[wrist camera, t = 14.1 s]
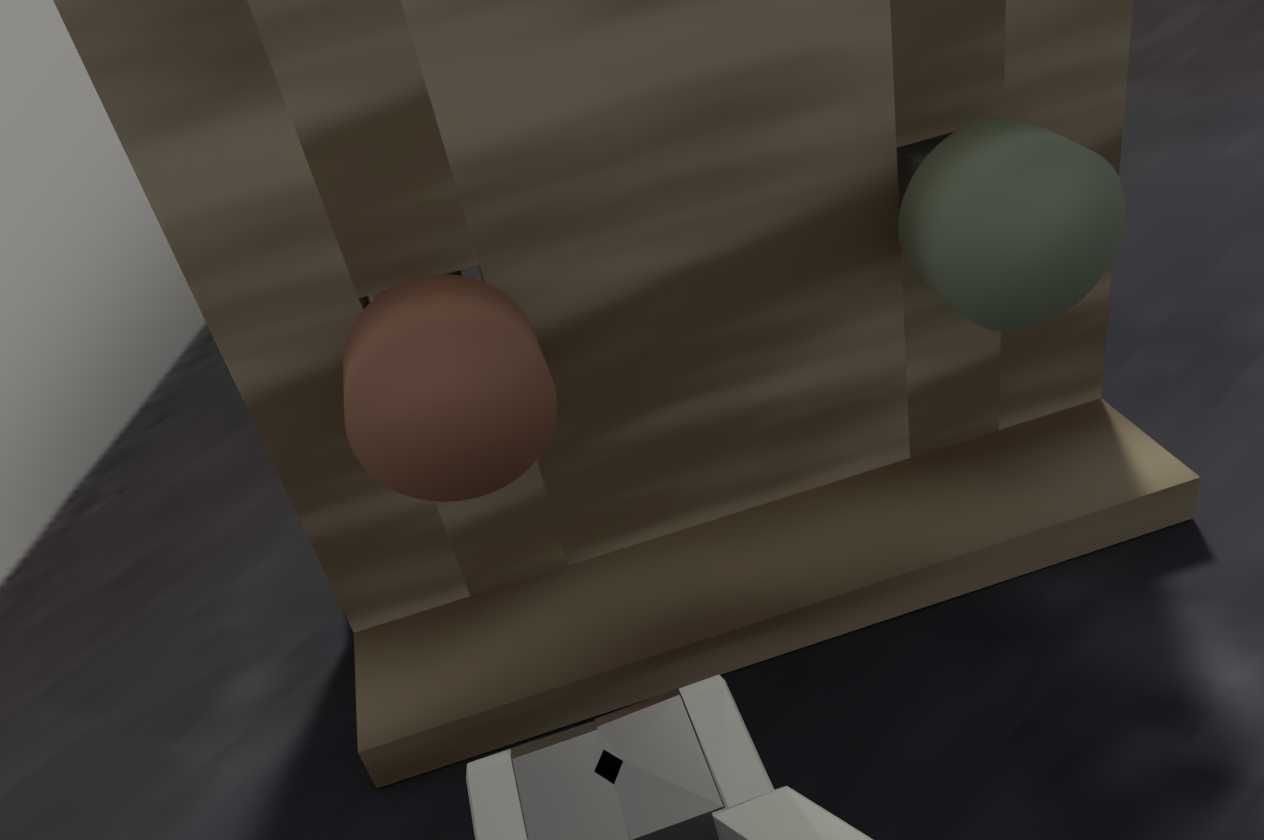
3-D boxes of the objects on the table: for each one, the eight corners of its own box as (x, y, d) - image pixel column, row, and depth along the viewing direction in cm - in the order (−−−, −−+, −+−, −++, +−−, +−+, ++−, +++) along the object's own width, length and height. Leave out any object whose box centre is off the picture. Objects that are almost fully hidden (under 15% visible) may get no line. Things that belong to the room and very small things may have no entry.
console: (1193, 518, 30) (1322, -323, 19) (376, 788, 27) (-32, 1, 16) (1005, 358, 38) (1017, -293, 27) (364, 554, 36) (87, -74, 25)
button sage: (1118, 302, 26) (1133, 121, 23) (947, 354, 25) (943, 175, 23) (969, 204, 32) (968, 51, 29) (828, 244, 31) (815, 93, 29)
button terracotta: (576, 467, 24) (529, 293, 22) (383, 526, 24) (312, 355, 21) (526, 331, 30) (485, 183, 28) (371, 376, 30) (315, 229, 27)
